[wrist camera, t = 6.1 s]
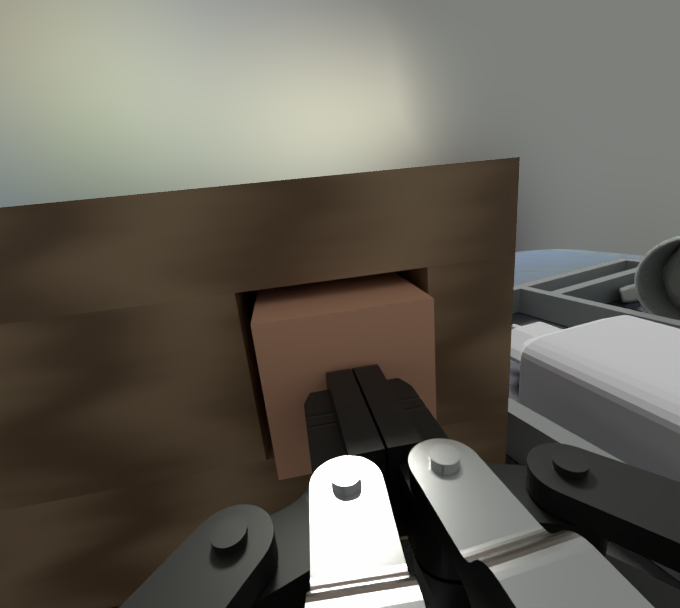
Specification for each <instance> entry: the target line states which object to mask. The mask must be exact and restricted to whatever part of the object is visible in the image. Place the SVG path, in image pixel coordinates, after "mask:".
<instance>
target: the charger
mask: <svg viewBox="0 0 680 608" xmlns="http://www.w3.org/2000/svg"><path fill="white" fill-rule="evenodd" d="M510 359H511V360H513V361H515V362H517V363H519V364H520V381H519V401H518V403H520V404H522V405H523V406H525V407H527V408H529V409H531V410H532V411H534V412H536V413H538V414H539V415H541V416H543V417H545V418H547V419H548V420H550V421H552V422H554V423H555V424H557V425H559V426H561V427H563V428H564V429H566V430H568V431H570V432H571V433H573V434H575V435H577V436H579V437H580V438H582V439H584V440H586V441H587V442H589V443H591V444H593V445H595V446H596V447H598V448H600V449H602V450H603V451H605V452H607V453H609V454H611V455H612V456H614V457H616V458H618V459H619V460H621V461H623V462H625V463H627V464H629V465H632V466H634V467H637V468H640V469H643V470H646V471H649V472H652V473H655V474H658V475H661V476H664V477H667V478H670V479H673V480H676V481H678V482H680V329H679V328H675V327H671V326H667V325H664V324H660V323H656V322H652V321H649V320H645V319H641V318H637V317H634V316H630V315H621V316H615V317H610V318H605V319H600V320H596V321H592V322H589V323H585V324H581V325H578V326H574V327H570V328H567V329H560V328H557V327H554V326H551V325H549V324H546V323H543V322H536V323H532V324H528V325H524V326H519V325H517V324H513V325H512V332H511V354H510Z"/></svg>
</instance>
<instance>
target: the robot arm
mask: <svg viewBox="0 0 680 608" xmlns="http://www.w3.org/2000/svg"><path fill="white" fill-rule="evenodd" d="M326 384H327V390H324V391H318V392H312V393H310V394H309V396H308V397H307V399H306V401H305V403H304V411H305V419H306V427H307V435H308V444H309V452H310V460H311V468H312V477H311V481H310V484H309V486H308V488H307V489H306V491H305V492H304V493H303V495H302V496H301V497H300V498H299V499H298V500H296V501H295V502H294V503H292V504H291V505H289V506H287V507H286V508H284V509H282V510H280V511H278V512H276V513H274V514H272V515H270V516H269V514H268V513H267V512H266V511H265V510H263V509H262V508H260V507H258V506H255V505H249V504H240V505H234V506H231V507H227V508H225V509H223V510H220V511H218V512H217V513H215V514H213V515H212V516H210V517H209V518H208V519H206V520H205V521H204V522H203V523H202V524H201V525H200V526H199V527H198V528H197V529H196V530H195V531H194V532H193V533H192V534H191V535H190V536H189V537H188V538H187V539H186V540H185V541H184V542H183V543H182V544H181V545H180V546H179V547H178V548H177V549H176V550H175V551H174V552H173V553H172V554H171V555H170V556H169V557H168V558H167V559H166V560H165V561H164V562H163V563H162V564H161V565H160V566H159V567H158V568H157V569H156V570H155V572H154V573H153V574H152V575H151V576H150V577H149V578H148V579H147V580H146V581H145V582H144V583H143V584H142V585H141V586H140V587H139V588H138V589H137V590H136V591H135V592H134V593H133V594H132V595H131V596H130V597H129V598H128V599H127V600H126V601H125V602H124V603H123V604H122V605H121V606H120V607H119V608H426V607H425V604H424V600H423V597H422V594H421V590H420V587H419V585H418V582H419V584H420V586H421V589H422V591H423V593H424V595H425V598H426V600H427V602H428V604H429V607H430V608H680V590H679V589H677V588H675V587H673V586H671V585H669V584H667V583H665V582H663V581H661V580H659V579H657V578H655V577H653V576H650V575H648V574H646V573H644V572H642V571H640V570H638V569H636V568H634V567H632V566H630V565H628V564H626V563H624V562H622V561H620V560H618V559H616V558H613V557H611V556H609V555H607V554H606V549H607V543H608V540H609V541H611V542H614V543H616V544H618V545H620V546H622V547H624V548H626V549H629V550H631V551H633V552H635V553H637V554H639V555H642V556H644V557H646V558H648V559H650V560H652V561H654V562H657V563H659V564H661V565H663V566H665V567H667V568H670V569H672V570H674V571H676V572H678V573H680V482H678V481H676V480H673V479H670V478H667V477H664V476H661V475H658V474H655V473H652V472H649V471H646V470H643V469H640V468H637V467H634V466H632V465H629V464H626V463H623V462H620V461H617V460H614V459H611V458H608V457H605V456H602V455H599V454H596V453H593V452H590V451H588V450H585V449H582V448H579V447H575V446H572V445H567V444H561V443H546V444H541V445H538V446H536V447H534V448H533V449H531V450H530V452H529V453H528V456H527V465H514V464H496V463H488V462H484V461H483V460H482V459H481V458H480V457H479V456H478V455H477V453H476V452H474V451H473V450H472V449H471V448H470V447H468V446H467V445H465V444H463V443H460V442H458V441H455V440H451V439H449V438H448V436H447V435H446V434H445V432H444V431H443V429H442V428H441V426H440V425H439V424H438V422H437V421H436V419H435V418H434V417H433V415H432V414H431V412H430V411H429V409H428V408H426V405H425V404H424V402H423V401H422V399H421V398H419V395H418V394H417V392H416V391H415V390H414V388H413V387H412V385H410V384H408V383H406V382H405V381H403V380H401V379H400V378H394V379H388V380H387V379H386V377H385V376H384V374H383V372H382V371H381V369H380V367H379V366H378V364H374V365H368V366H361V367H355V368H352V370H351V368H350V369H344V370H337V371H331V372H326ZM403 536H408V539H409V542H410V544H411V547H412V551H413V567H414V572H415V575H416V577H417V580H418V582H417V580H416V578H415V576H414V575H410V574H409V572H408V569H407V565H406V562H405V558H404V554H403V550H402V547H401V543H400V539H399V537H403Z"/></svg>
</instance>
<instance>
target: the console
mask: <svg viewBox="0 0 680 608" xmlns="http://www.w3.org/2000/svg"><path fill="white" fill-rule="evenodd" d="M518 180H519V157H517V158H507V159H496V160H486V161H476V162H466V163H456V164H446V165H435V166H425V167H415V168H404V169H394V170H383V171H374V172H363V173H353V174H343V175H332V176H322V177H311V178H301V179H291V180H281V181H271V182H260V183H250V184H240V185H231V186H230V185H229V186H219V187H210V188H199V189H188V190H178V191H168V192H157V193H147V194H137V195H127V196H117V197H106V198H96V199H86V200H75V201H66V202H56V203H45V204H34V205H24V206H14V207H3V208H0V608H111V607H115V606H119V605H122V604H123V603H124V602H125V601H126V600H127V599H128V598H129V597H130V596H131V595H132V594H133V593H134V592H135V591H136V590H137V589H138V588H139V587H140V586H141V585H142V584H143V583H144V582H145V581H146V580H147V579H148V578H149V577H150V576H151V575H152V574H153V573H154V572H155V570H156V569H157V568H158V567H159V566H160V565H161V564H162V563H163V562H164V561H165V560H166V559H167V558H168V557H169V556H170V555H171V554H172V553H173V552H174V551H175V550H176V549H177V548H178V547H179V546H180V545H181V544H182V543H183V542H184V541H185V540H186V539H187V538H188V537H189V536H190V535H191V534H192V533H193V532H194V531H195V530H196V529H197V528H198V527H199V526H200V525H201V524H202V523H203V522H204V521H205V520H206V519H208V518H209V517H210V516H212V515H213V514H215V513H217V512H218V511H220V510H223V509H225V508H227V507H231V506H234V505H240V504H249V505H255V506H258V507H260V508H262V509H263V510H265V511H266V512H267V513H268V514H269V516H270V515H272V514H274V513H276V512H278V511H280V510H282V509H284V508H286V507H287V506H289V505H291V504H292V503H294V502H295V501H296V500H298V499H299V498H300V497H301V496H302V495H303V493H304V492H305V491H306V489H307V488H308V486H309V484H310V481H311V477H312V474H308V475H303V476H298V477H293V478H288V479H283V480H279V478H278V473H277V467H276V462H275V456H274V451H273V445H272V440H271V434H270V429H269V423H268V418H267V412H266V407H265V401H264V396H263V390H262V385H261V379H260V374H259V368H258V363H257V357H256V352H255V347H254V341H253V336H252V330H251V320H252V315H253V311H254V306H255V301H256V296H257V292H258V290H261V289H269V288H276V287H283V286H291V285H298V284H306V283H313V282H321V281H328V280H336V279H343V278H351V277H358V276H366V275H373V274H381V273H388V272H395V273H396V274H398V275H399V276H401V277H402V278H404V279H405V280H407V281H408V282H410V283H411V284H413V285H415V286H416V287H418V288H419V289H421V290H422V291H424V292H425V293H427V294H428V295H430V296H431V297H433V298H434V330H435V376H436V421H437V422H438V424H439V425H440V426H441V428H442V429H443V431H444V432H445V434H446V435H447V436H448V438H449V439H451V440H455V441H458V442H460V443H463V444H465V445H467V446H468V447H470V448H471V449H472V450H473V451H474V452H476V453H477V455H478V456H479V457H480V458H481V459H482V460H483V461H484V462H488V463H496V464H505V463H506V441H507V420H508V398H509V376H510V354H511V332H512V310H513V289H514V267H515V244H516V223H517V201H518ZM399 539H400V541H401V540H405V539H408V536H403V537H399Z"/></svg>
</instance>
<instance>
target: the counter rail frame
mask: <svg viewBox="0 0 680 608" xmlns="http://www.w3.org/2000/svg"><path fill="white" fill-rule="evenodd" d="M640 261H641V260H636V259H627V258H620V259H616V260H612V261H609V262H605V263H601V264H597V265H593V266H589V267H585V268H582V269H578V270H574V271H570V272H566V273H562V274H558V275H555V276H551V277H547V278H543V279H539V280H535V281H532V282H528V283H524V284H520V285H516V286H514V289H513V310H512V314H515V313H518V312H520V313H523V314H527V315H530V316H533V317H537V318H540V319H543V320H547V321H550V322H553V323H556V324H560V325H563V326H566V327H574V326H578V325H581V324H585V323H589V322H592V321H596V320H600V319H605V318H610V317H615V316H621V315H630V316H634V317H637V318H641V319H645V320H649V321H652V322H656V323H660V324H664V325H667V326H671V327H675V328H679V329H680V320H675V319H671V318H666V317H662V316H657V315H653V314H648V313H644V312H639V311H635V310H630V309H626V308H621V307H617V306H612V305H608V304H607V303H610V302H613V301H616V300H619V299H621V296H620V293H619V289H620V288H622V287H625V286H628V285H632V284H634V278H635V273H636V270H637V266H638V265H639V263H640ZM546 443H561V444H567V445H572V446H575V447H579V448H582V449H585V450H588V451H590V452H593V453H596V454H599V455H602V456H605V457H608V458H611V459H614V460H617V461H620V462H623V461H621V460H619V459H618V458H616V457H614V456H612V455H611V454H609V453H607V452H605V451H603V450H602V449H600V448H598V447H596V446H595V445H593V444H591V443H589V442H587V441H586V440H584V439H582V438H580V437H579V436H577V435H575V434H573V433H571V432H570V431H568V430H566V429H564V428H563V427H561V426H559V425H557V424H555V423H554V422H552V421H550V420H548V419H547V418H545V417H543V416H541V415H539V414H538V413H536V412H534V411H532V410H531V409H529V408H527V407H525V406H523V405H522V404H520V403H518V402H516V401H515V400H513V399H511V398H508V420H507V441H506V454H507V455H508V456H510V457H511V458H512V459H514V460H515V461H516V462H518V463H519V464H521V465H527V456H528V453H529V452H530V450H531V449H533V448H534V447H536V446H538V445H541V444H546ZM623 463H625V462H623ZM626 464H627V463H626ZM651 561H652V560H651ZM653 562H654V561H653ZM654 563H655V564H657V565H658V566H659V567H661V568H662V569H663V570H665V571H666V572H668V573H669V574H670V575H672V576H673V577H674V578H676V579H677V580H678V581H680V573H678V572H676V571H674V570H672V569H670V568H667V567H665V566H663V565H661V564H659V563H657V562H654Z"/></svg>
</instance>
